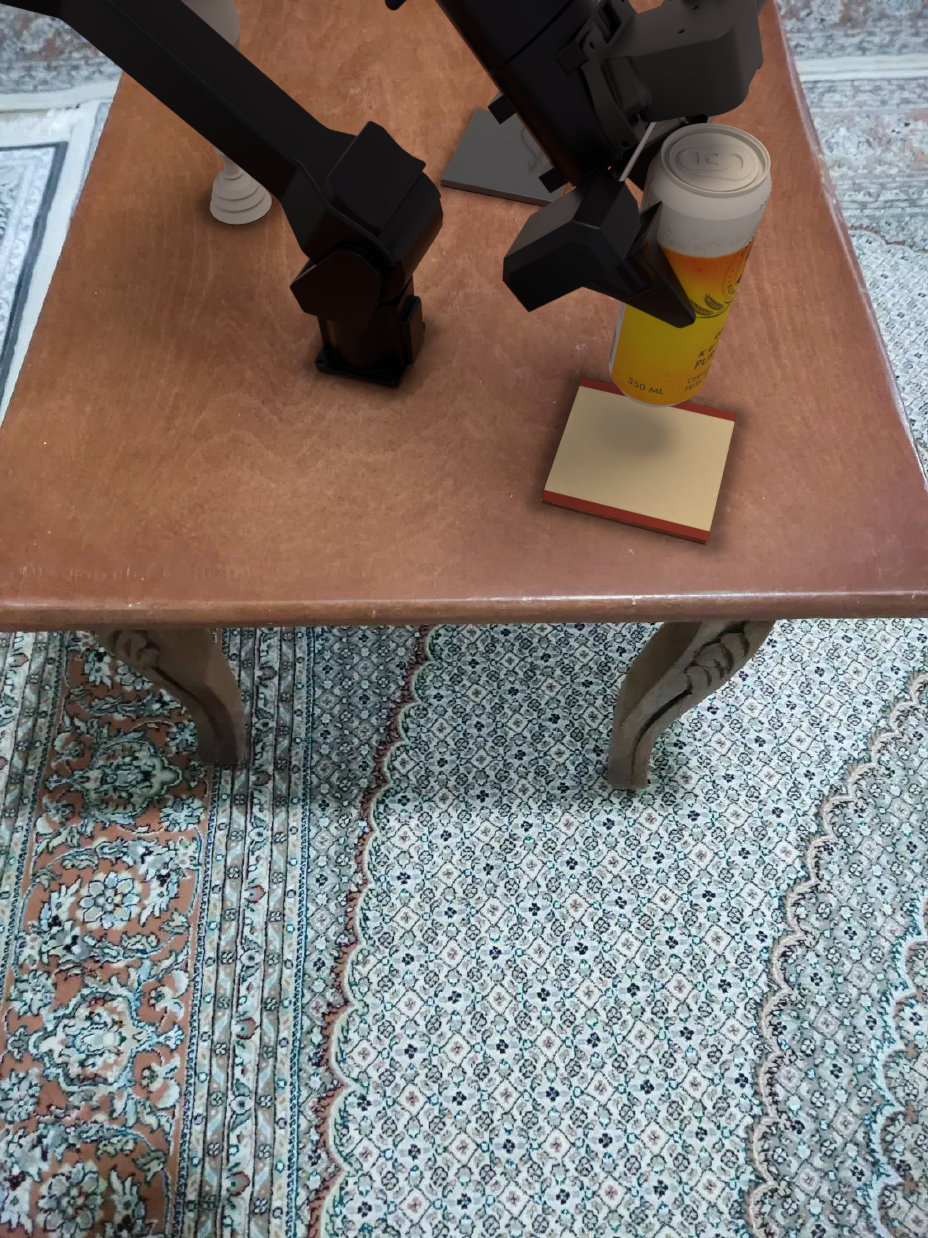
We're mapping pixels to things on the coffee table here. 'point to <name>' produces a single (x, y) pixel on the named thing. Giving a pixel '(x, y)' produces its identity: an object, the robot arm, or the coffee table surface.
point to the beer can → (693, 257)
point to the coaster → (499, 161)
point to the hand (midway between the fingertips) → (705, 286)
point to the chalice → (232, 187)
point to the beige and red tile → (641, 462)
